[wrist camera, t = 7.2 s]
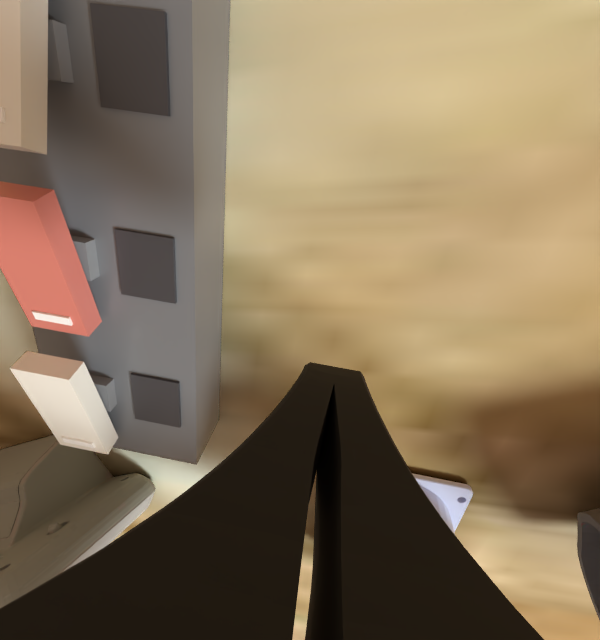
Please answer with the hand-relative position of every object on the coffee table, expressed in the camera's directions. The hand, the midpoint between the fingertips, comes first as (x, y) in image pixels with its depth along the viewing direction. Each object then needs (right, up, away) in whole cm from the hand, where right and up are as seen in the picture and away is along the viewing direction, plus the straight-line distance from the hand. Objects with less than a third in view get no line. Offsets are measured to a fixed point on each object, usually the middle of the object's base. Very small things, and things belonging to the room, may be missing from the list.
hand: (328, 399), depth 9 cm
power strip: (-8, +8, +9) cm, 14 cm away
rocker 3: (-11, -2, +9) cm, 14 cm away
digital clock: (-19, -10, +20) cm, 29 cm away
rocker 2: (-11, +4, +5) cm, 13 cm away
